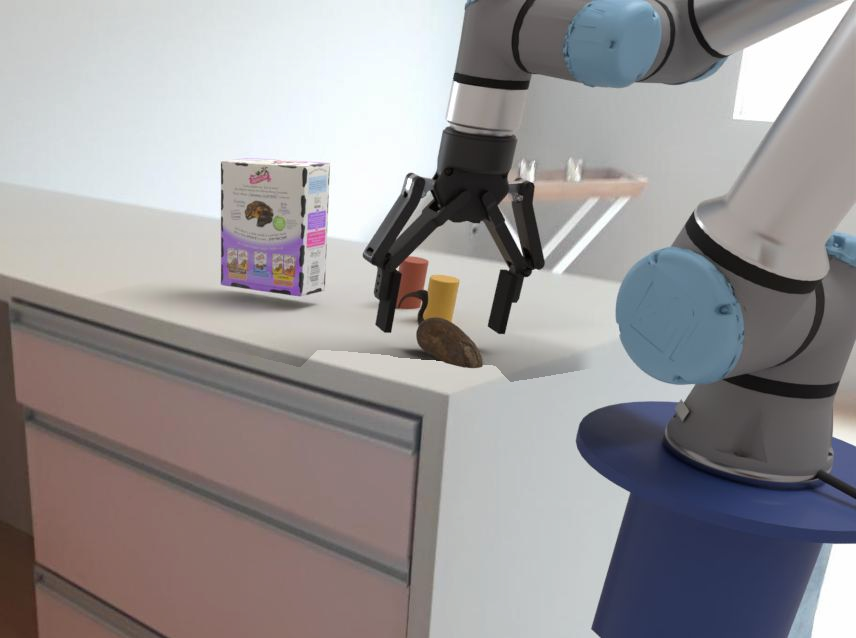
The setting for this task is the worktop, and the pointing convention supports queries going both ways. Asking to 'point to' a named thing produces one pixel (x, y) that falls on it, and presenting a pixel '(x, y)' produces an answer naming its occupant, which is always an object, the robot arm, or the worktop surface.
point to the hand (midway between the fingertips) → (440, 330)
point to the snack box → (274, 225)
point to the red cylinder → (411, 281)
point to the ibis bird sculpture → (444, 338)
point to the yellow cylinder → (441, 297)
